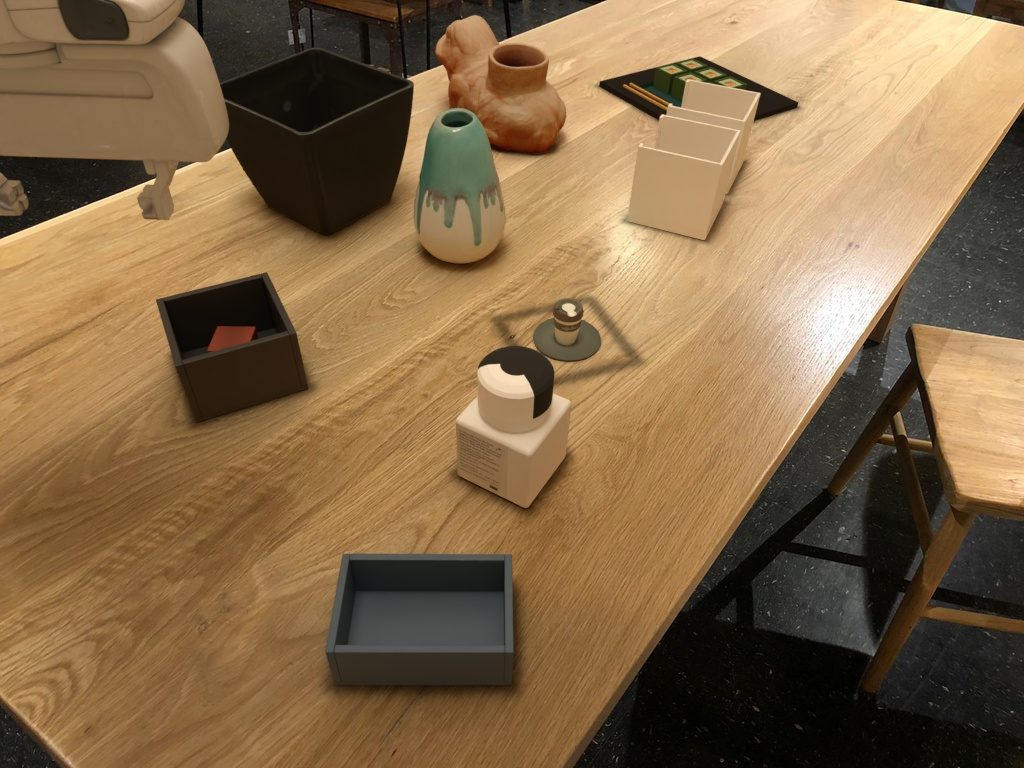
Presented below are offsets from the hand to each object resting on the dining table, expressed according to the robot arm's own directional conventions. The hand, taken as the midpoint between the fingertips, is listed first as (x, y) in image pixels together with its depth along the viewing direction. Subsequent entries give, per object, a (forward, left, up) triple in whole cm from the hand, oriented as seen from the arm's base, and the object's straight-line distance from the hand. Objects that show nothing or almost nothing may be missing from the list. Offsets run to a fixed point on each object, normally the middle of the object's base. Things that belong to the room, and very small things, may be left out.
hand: (87, 213), depth 50 cm
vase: (+38, +26, -29) cm, 54 cm away
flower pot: (+26, +44, -29) cm, 59 cm away
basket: (+7, +14, -29) cm, 33 cm away
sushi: (+97, +53, -29) cm, 114 cm away
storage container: (+75, +26, -29) cm, 85 cm away
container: (+27, -10, -29) cm, 41 cm away
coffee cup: (+41, +4, -29) cm, 50 cm away
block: (+7, +14, -28) cm, 32 cm away
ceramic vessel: (+59, +57, -29) cm, 87 cm away
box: (+13, -23, -29) cm, 39 cm away
